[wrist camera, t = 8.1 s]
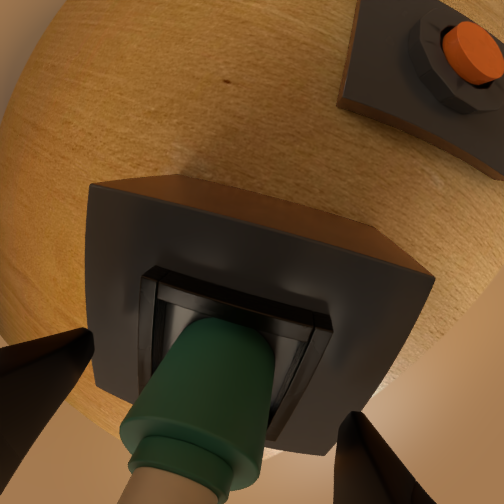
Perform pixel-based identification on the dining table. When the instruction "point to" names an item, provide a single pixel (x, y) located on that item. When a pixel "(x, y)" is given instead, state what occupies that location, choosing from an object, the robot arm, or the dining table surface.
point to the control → (422, 81)
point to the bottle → (201, 417)
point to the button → (473, 53)
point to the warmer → (248, 294)
